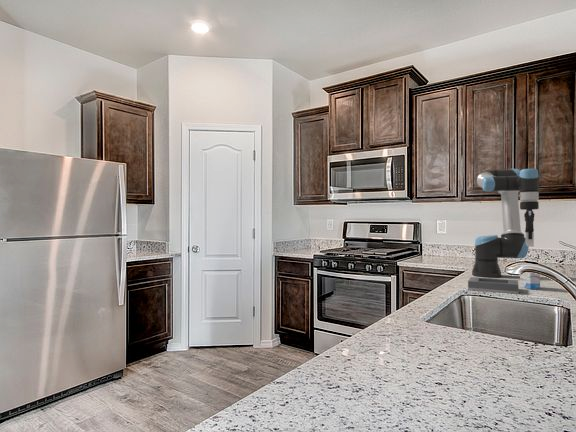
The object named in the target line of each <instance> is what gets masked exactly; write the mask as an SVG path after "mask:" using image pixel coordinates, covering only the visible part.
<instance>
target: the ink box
mask: <svg viewBox="0 0 576 432" xmlns="http://www.w3.org/2000/svg"><path fill="white" fill-rule="evenodd" d="M519 287H522V288H526V289H528V290H540V289H541V274H540V275H539V274H535V273H524V274H522V275H520V274H519Z"/></svg>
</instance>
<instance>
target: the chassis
mask: <svg viewBox="0 0 576 432" xmlns="http://www.w3.org/2000/svg"><path fill="white" fill-rule="evenodd" d="M467 290H468V291H479V292H480V291H481V292H492V293H502V294H504V293H505V294H515V295H516V294H517V295H519V280H518V279H517V280H516V279H504V278H492V277H478V276H475V277H474V276H471V277H470V278H469V279H468V281H467Z"/></svg>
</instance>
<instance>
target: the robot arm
mask: <svg viewBox="0 0 576 432" xmlns="http://www.w3.org/2000/svg"><path fill="white" fill-rule="evenodd" d="M539 177H540V175H539V170H538V169H537V168H523V169H521V170H520V169H518V168H505V169H503V168H501V169H488V170H485V171H482V172H480V173H479V174H478V175H477V177H476V181H475V182H476V184H477V186H478V187H479V188H482V191H484V192H497V193H499V194H500V197H501V198H500V200H501V201H500V202H501V212H502V215H501V216H502V227H503V230H502V231H503V232H502V233H501V234H500V237H499V236H498V234H492V235H490V234H489V235H481V236H476V238H475V240H474V241H475V242H474V247H475V248H474V249H475V251H474V255H475V257H474V260H475V261H474V264H473V267H472V270H471V275H472V276H473V277H474V276H475V277H479V278H501V277H502V270H501V268H500V265H499V258H500V259H525V258H526V257H527V256H528V253H529V247H534V246H535V244H534V243H535V242H534V240H535V239H534V236H535V235H534V231H535V229H534V221H535V213H534V210H539V209H540V208H539V200H540V198H539V196H540V195H539ZM519 200H520V202H519ZM520 210H525V213H524V221H525V228H524V229H525V230H524V232H525V234H524V233H523V232H522V231H521V230H522V229H521V217H520Z"/></svg>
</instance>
